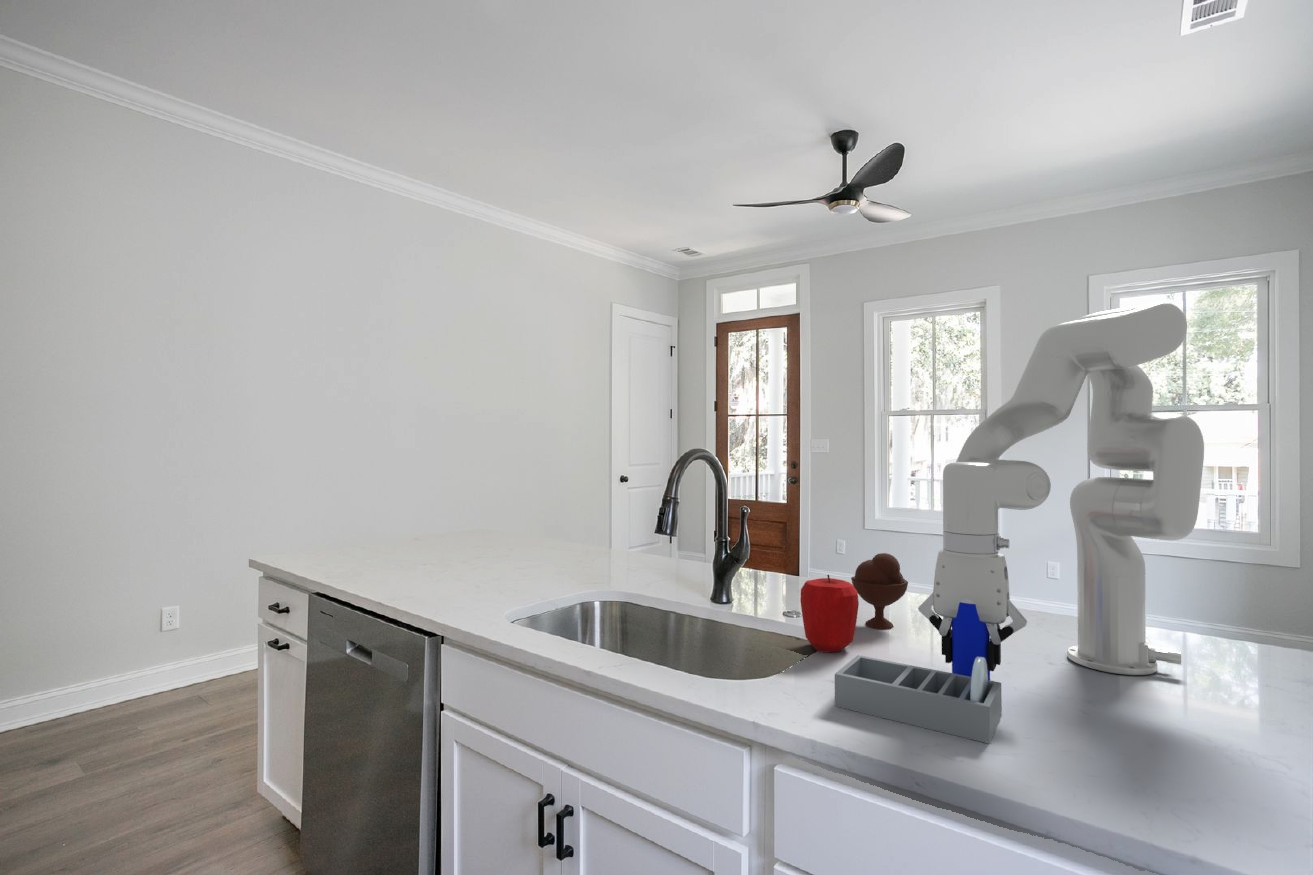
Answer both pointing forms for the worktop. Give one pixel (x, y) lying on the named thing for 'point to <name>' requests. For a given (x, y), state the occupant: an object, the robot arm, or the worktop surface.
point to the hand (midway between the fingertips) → (970, 663)
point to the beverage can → (968, 639)
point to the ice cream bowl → (880, 586)
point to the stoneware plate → (979, 680)
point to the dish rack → (918, 697)
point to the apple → (829, 613)
